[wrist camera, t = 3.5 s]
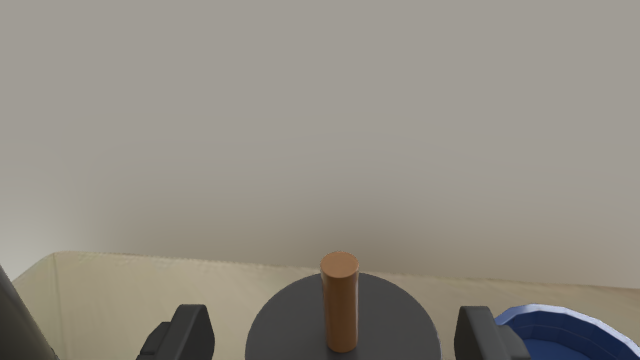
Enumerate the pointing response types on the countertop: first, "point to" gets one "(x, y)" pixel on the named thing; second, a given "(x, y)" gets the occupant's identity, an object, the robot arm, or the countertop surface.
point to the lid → (342, 319)
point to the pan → (566, 334)
